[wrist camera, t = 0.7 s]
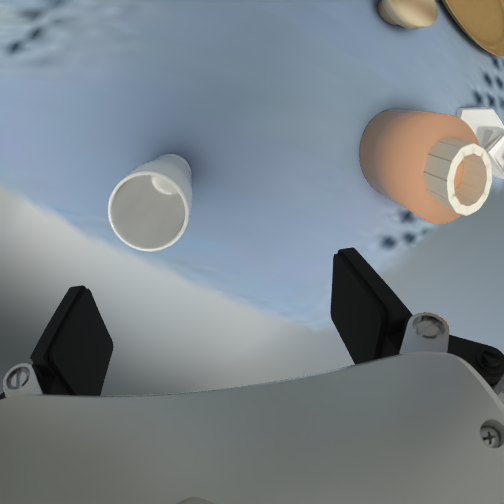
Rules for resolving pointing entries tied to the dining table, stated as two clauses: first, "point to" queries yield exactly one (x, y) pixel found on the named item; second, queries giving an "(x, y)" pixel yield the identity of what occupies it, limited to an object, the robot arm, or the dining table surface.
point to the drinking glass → (152, 203)
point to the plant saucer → (480, 22)
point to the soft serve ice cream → (487, 134)
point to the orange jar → (426, 163)
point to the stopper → (408, 12)
